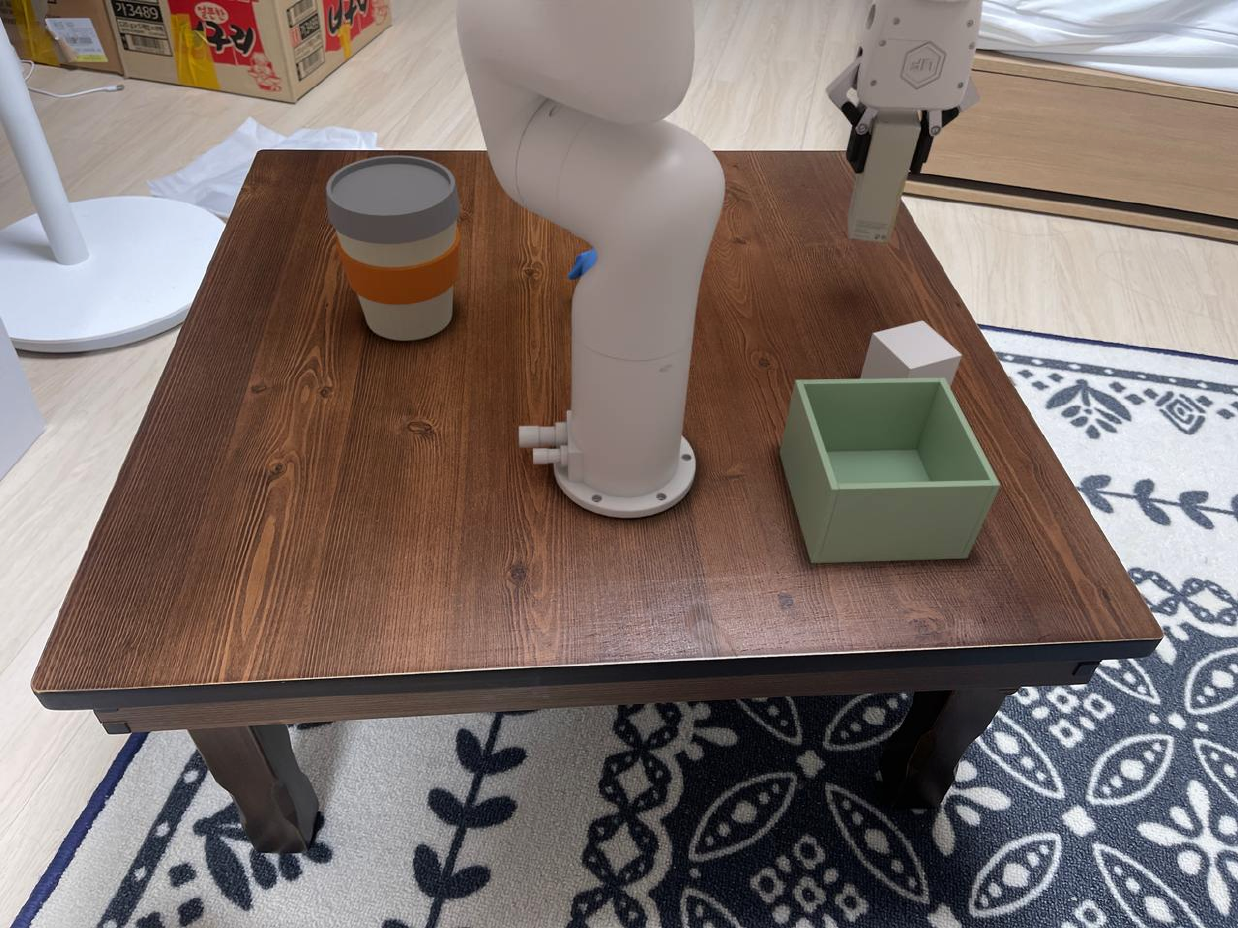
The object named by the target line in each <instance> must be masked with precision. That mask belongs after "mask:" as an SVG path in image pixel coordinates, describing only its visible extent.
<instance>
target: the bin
mask: <svg viewBox="0 0 1238 928" xmlns="http://www.w3.org/2000/svg"><path fill="white" fill-rule="evenodd" d="M790 398H791V399H790V403H789V408H788V412H787V416H786V421H785V426H784V430H783V435H782V440H781V444H780V449H779V456H780V460H781V465H782V467H783V470H784V474H785V477H786V481H787V484H788V488H789V490H790V494H791V499H792V501H793V505H794V508H795V512H796V516H797V519H798V523H799V526H800V529H801V533H802V536H803V540H804V544H805V547H806V550H807V554H808V557H809V561H810V564H828V563H829V564H832V563H833V564H834V563H853V562H854V563H862V562H865V563H866V562H894V561H895V562H896V561H925V560H926V561H928V560H956V559H959V560H960V559H968V557H969V556H970V553H971V550H972V548H973V546H974V544H975V542H976V540H977V538H978V536H979V533H980V531H981V529H982V527H983V524H984V523H985V520H986V518H987V516H988V513H989V511H990V509H991V507H992V505H993V502H994V500H995V497H996V496H997V493H998V492H999V489H1000V487H1001V483H1000V482H999V480H998V478H997V476H996V474H995V472H994V469H993V467H992V466H991V464H990V462H989V460H988V458H987V456H986V455H985V453H984V450H983V449H982V447H981V445H980V443H979V441H978V439H977V437H976V435H975V433H974V431H973V429H972V427H971V426H970V424H969V422H968V420H967V418H966V415H965V414H964V413H963V409H962V408H961V406H960V405H959V402H958V401H957V399H956V397H955V395H954V393H953V390H952V389H951V387H949V385H948V383H947V381H946V379H945V378H882V379H860V378H834V379H833V378H827V379H826V378H823V379H822V378H821V379H820V378H819V379H795V380H794V384H793V388H792V394H791V397H790Z"/></svg>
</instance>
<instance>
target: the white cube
mask: <svg viewBox="0 0 1238 928" xmlns="http://www.w3.org/2000/svg"><path fill="white" fill-rule="evenodd" d="M868 344H869V345H868V348H867V352H866V355H865V360H864V362H863V367H862V369H861V374H860V377H859V379H882V378H945V379H946V381H947V383H948V385H949V387H950V388H951V387H952V384H953V382H954V378H955V376H956V373H957V370H958V368H959V365H960V362H961V360H962V358H963V354H962V353H961V352H960V351H958V350H957V349H956V348H955V347H954V346H952V345H951V344H950V343H949V341H947V340H946V339H945V338H944V337H943V336H942V335H940V334H939V333H938V332H937V331H935V330H934V328H932V327H931V326H930V325H929V324H928V323H926V321H924V320H919V321H915V322H912V323H907V324H903V325H899V326H895V327H892V328H888V329H884V330H880V331H875V332H872V334H871V338H870V341H869V343H868Z"/></svg>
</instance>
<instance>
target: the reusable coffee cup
mask: <svg viewBox="0 0 1238 928" xmlns="http://www.w3.org/2000/svg"><path fill="white" fill-rule="evenodd" d="M325 193H326V207H327V218H328V222H329V223H330V224H331V226H332V227H333V229H335V232H336V240H335V244H336V248H337V252H338V255H339V258H340V260H341V264H342V266H343V269H344V272H345V275H346V278H347V280H348V283H349V286H350V288H351V289H352V291H353V292H355V293H356V295H357V297H358V301H359V304H360V306H361V309H362V312H363V315H364V318H365V321H366V324H367V326H368V328H369V329H370V330H372V332H373V333H374V334H376V335H378V336H379V337H383V338H385V339H389V340H394V341H403V342H404V341H405V342H407V341H416V340H422V339H425V338H429V337H431V336H434V335H436V334H438V333H440V332H441V331H443V330H444V329H446V327H448V325H449V323H450V322H451V320H452V317H453V303H454V302H453V300H454V285H455V283H456V282H457V279H458V277H459V262H460V244H461V232H460V230H459V227H458V226H457V222H458V221H457V219H458V218H459V216H460V213H461V202H460V199H459V194H458V193H459V192H458V188H457V183H456V179H455V177H454V175H453V173H452V172H451V171H450V170H449V168H447V167H445V165H443V164H441V163H439V162H437V161H434V160H432V159H428V158H424V157H420V156H412V155H400V154H399V155H398V154H397V155H382V156H381V155H380V156H374V157H367V158H364V159H361V160H358V161H354V162H352V163H350V164H347V165H345V166H343V167H342V168H340V169H338V170H337V171H335V172H334V173H333V174H332V175H331V176H330V177H329V178H328V181H327V182H326V187H325Z"/></svg>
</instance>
